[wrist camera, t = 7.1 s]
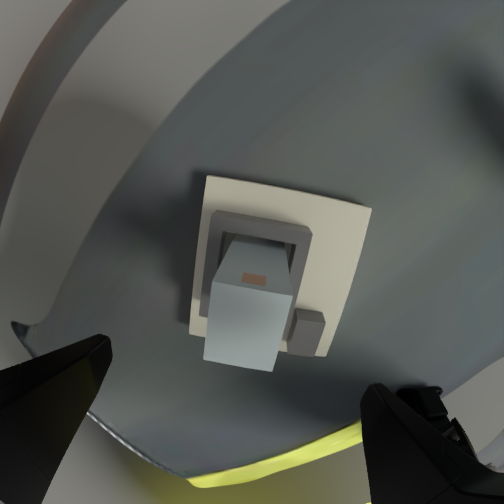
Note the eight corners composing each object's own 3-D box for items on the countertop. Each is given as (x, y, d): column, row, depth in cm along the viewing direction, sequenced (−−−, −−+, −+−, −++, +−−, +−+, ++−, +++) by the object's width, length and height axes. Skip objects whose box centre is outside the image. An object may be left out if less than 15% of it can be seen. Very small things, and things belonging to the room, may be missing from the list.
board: (323, 348, 22) (329, 372, 19) (192, 325, 22) (182, 348, 19) (366, 205, 19) (382, 213, 16) (210, 174, 19) (199, 176, 16)
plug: (272, 296, 20) (272, 372, 12) (227, 288, 20) (203, 359, 12) (284, 242, 19) (293, 295, 11) (235, 233, 19) (212, 280, 11)
